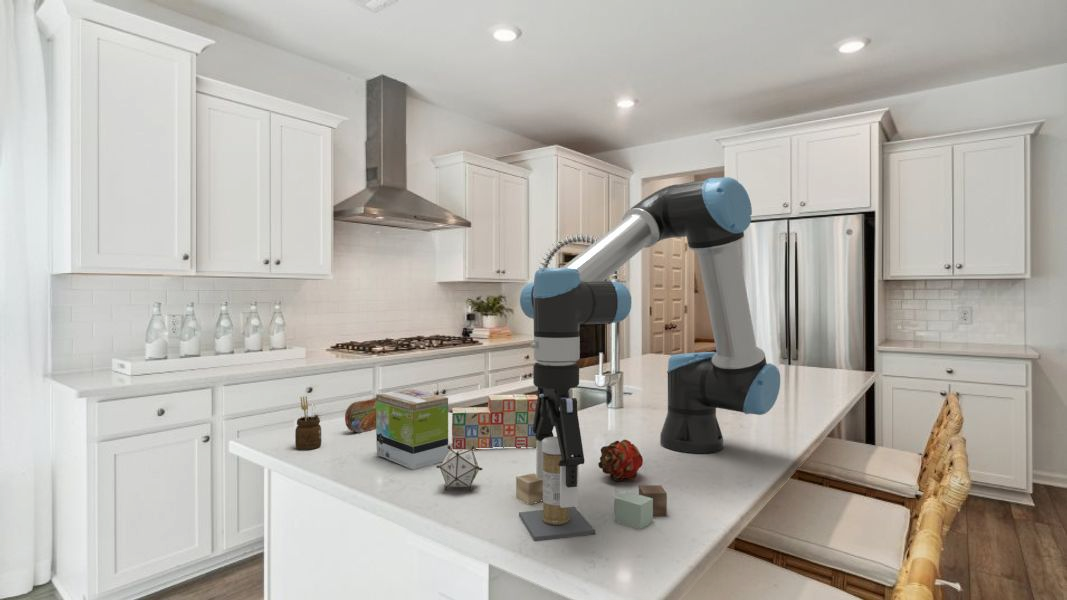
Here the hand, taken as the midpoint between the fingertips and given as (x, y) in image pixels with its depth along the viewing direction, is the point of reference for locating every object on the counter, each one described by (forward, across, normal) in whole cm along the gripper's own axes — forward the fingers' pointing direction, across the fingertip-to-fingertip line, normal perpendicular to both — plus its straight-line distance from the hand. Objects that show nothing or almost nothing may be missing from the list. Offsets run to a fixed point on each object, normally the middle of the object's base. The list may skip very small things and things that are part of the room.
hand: (555, 491), depth 93 cm
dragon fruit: (+6, -19, +20) cm, 28 cm away
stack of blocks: (+6, -49, 0) cm, 49 cm away
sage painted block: (+6, +2, +13) cm, 14 cm away
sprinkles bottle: (+5, 0, 0) cm, 5 cm away
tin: (+6, -74, -31) cm, 80 cm away
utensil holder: (+6, -59, -45) cm, 74 cm away
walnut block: (+6, -1, +18) cm, 19 cm away
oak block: (+6, -12, -1) cm, 13 cm away
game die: (+6, -21, -13) cm, 25 cm away
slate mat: (+6, 0, 0) cm, 6 cm away
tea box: (+6, -43, -21) cm, 48 cm away
